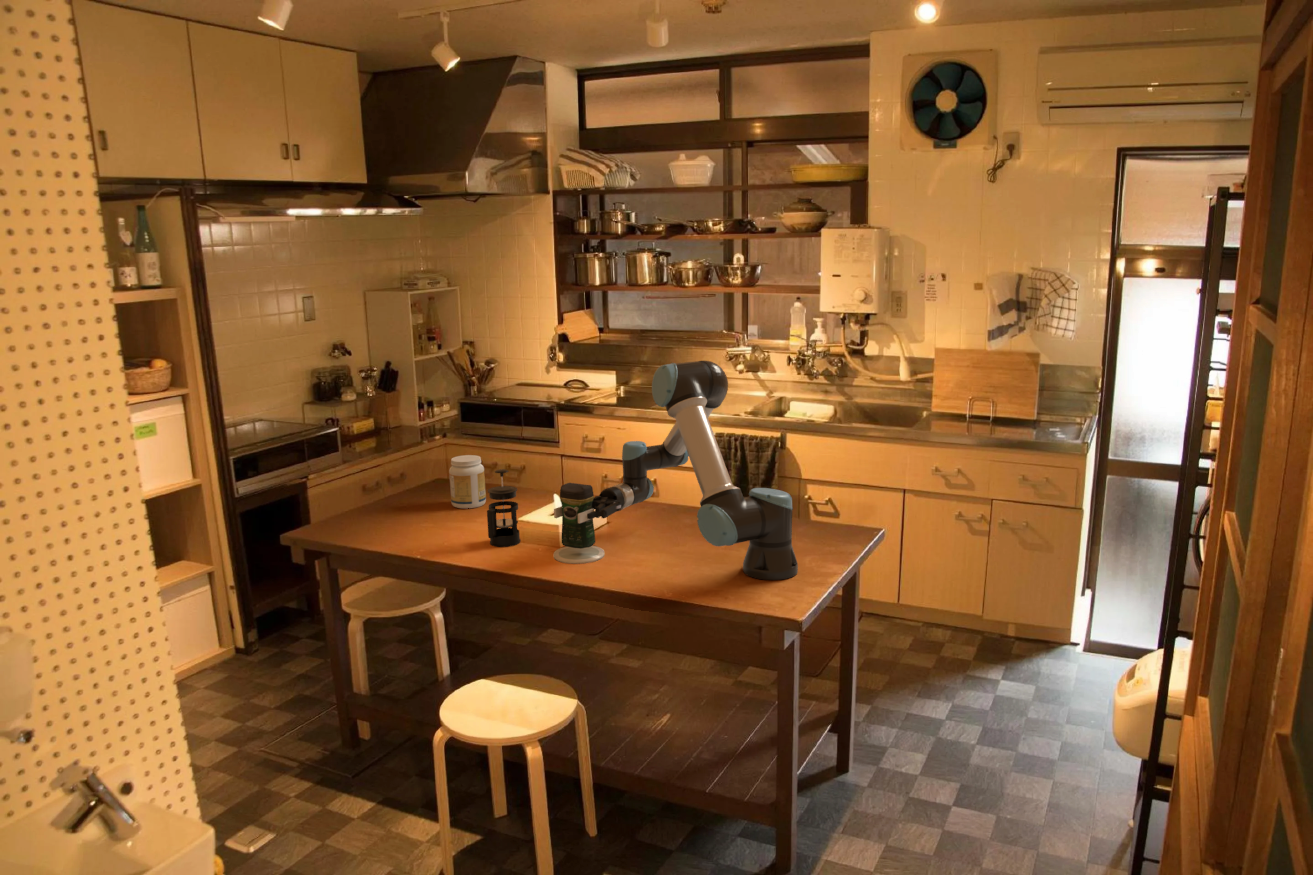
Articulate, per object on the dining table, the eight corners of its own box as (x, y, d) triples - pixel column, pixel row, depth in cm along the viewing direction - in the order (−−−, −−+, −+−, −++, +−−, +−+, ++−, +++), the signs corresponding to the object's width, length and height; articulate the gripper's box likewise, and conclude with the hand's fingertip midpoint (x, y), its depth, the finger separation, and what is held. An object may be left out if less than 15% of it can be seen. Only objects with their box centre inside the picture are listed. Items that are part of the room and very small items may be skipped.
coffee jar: (599, 543, 281) (597, 482, 277) (584, 551, 275) (582, 489, 271) (572, 538, 286) (570, 479, 282) (557, 546, 279) (554, 485, 275)
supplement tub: (475, 498, 346) (473, 452, 342) (492, 504, 336) (490, 458, 333) (445, 504, 338) (442, 458, 335) (461, 511, 329) (458, 463, 325)
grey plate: (610, 560, 276) (610, 557, 276) (559, 566, 272) (559, 563, 271) (597, 545, 290) (597, 542, 290) (548, 550, 286) (548, 547, 285)
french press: (505, 535, 301) (502, 464, 297) (528, 540, 296) (525, 468, 291) (479, 545, 292) (475, 472, 287) (502, 550, 287) (498, 476, 282)
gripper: (643, 515, 287) (595, 534, 269) (589, 504, 299) (540, 522, 281) (643, 491, 285) (594, 509, 268) (589, 481, 298) (539, 498, 280)
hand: (566, 516), depth 275 cm, fingers closed on coffee jar, 8 cm apart
